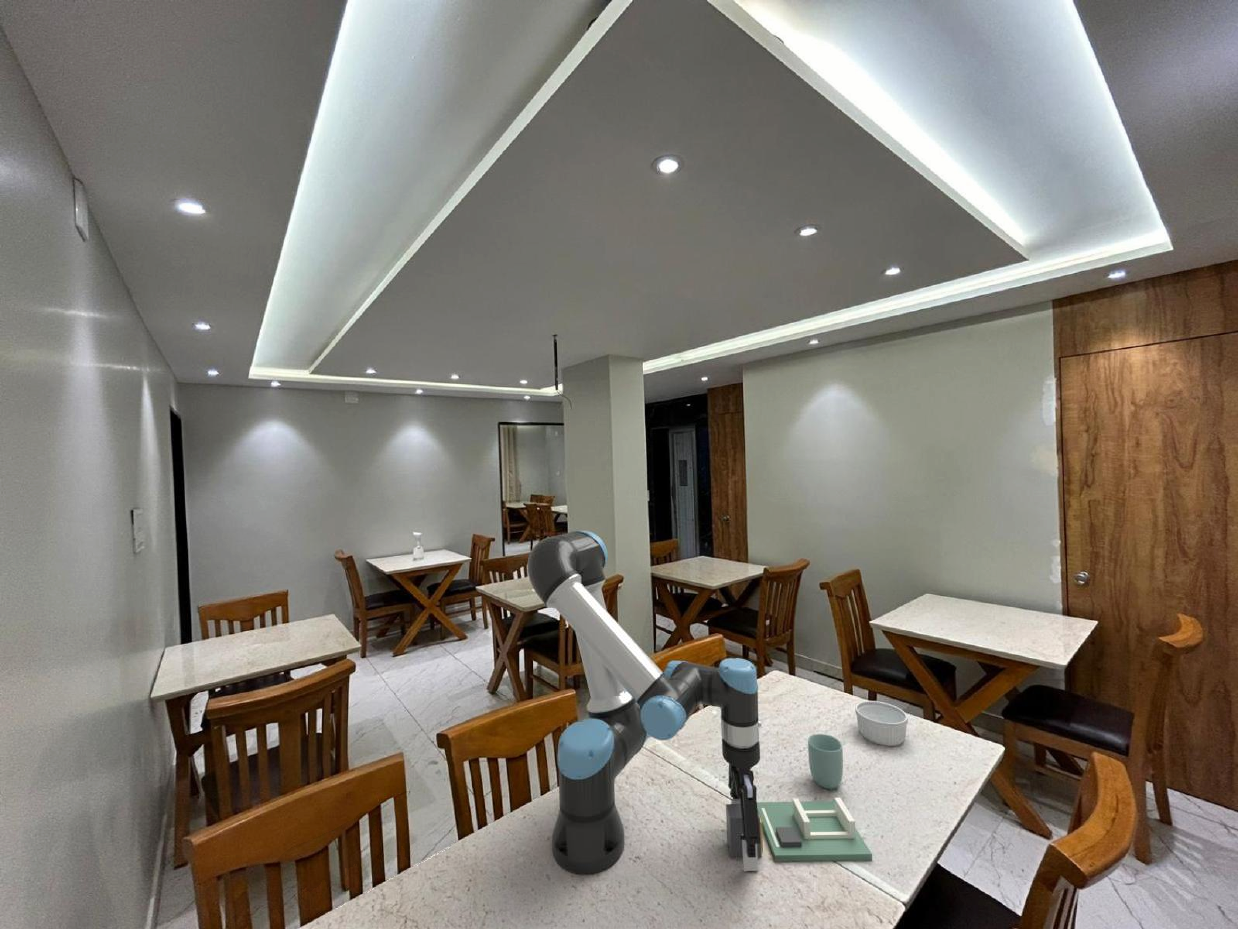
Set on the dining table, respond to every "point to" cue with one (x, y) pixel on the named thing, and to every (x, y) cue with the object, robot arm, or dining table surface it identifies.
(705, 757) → the dining table surface
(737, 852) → the plug
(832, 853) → the board
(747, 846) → the robot arm
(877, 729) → the ramekin
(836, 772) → the cup
